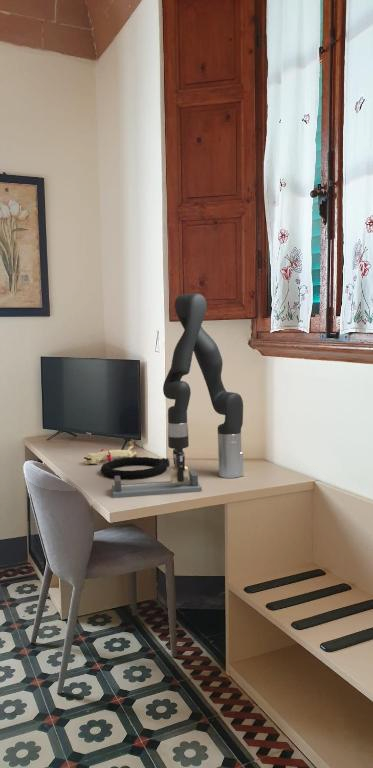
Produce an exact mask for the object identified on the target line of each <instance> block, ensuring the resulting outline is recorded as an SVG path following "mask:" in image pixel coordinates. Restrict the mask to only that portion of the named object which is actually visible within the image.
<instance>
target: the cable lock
mask: <svg viewBox="0 0 373 768" xmlns="http://www.w3.org/2000/svg"><path fill="white" fill-rule="evenodd" d="M170 464H171V462H170V460H169V458H168V457H166V458H165V457H163V458H160V457H158V458H154V457H148V456H143V457H142V456H137V457H133V456H132V457H127V458H125V457H122V458H117V459H113V460H111V461H107V462H106V463H103V464H102V466H100V469H99V470H100V472H101V474H102V475H103V476H104V477H106V478H109V479H115V477H114V476H119V475H120V479H121V480H138V479H139V480H140V479H147V478H152V477H156V476H158V475H161V474H163V473H166V471H167V468H168V467H170ZM131 466H146V467H149V466H150V468H145V469H134V470H121V469H117V468H122V467H131Z"/></svg>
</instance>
